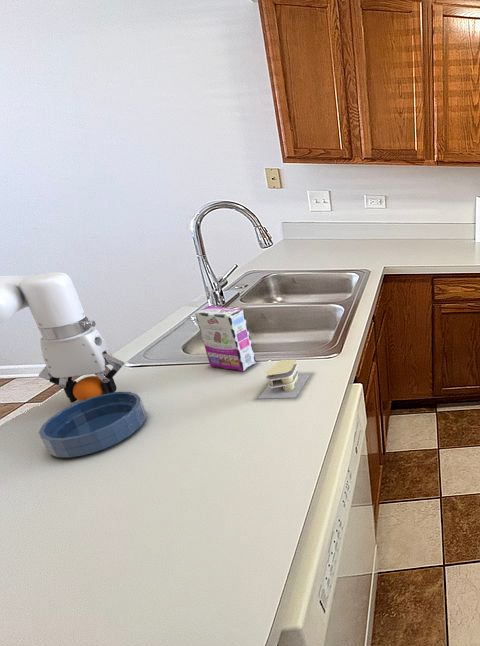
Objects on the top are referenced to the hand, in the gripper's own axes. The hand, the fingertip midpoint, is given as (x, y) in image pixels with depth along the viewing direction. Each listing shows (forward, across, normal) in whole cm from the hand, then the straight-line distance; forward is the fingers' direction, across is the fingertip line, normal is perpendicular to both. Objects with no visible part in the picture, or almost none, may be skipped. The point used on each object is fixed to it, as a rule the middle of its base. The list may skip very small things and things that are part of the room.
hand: (94, 396), depth 94 cm
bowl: (+1, -7, +14) cm, 16 cm away
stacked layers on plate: (+1, -42, +7) cm, 43 cm away
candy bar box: (+1, -27, -8) cm, 29 cm away
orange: (-2, 0, 0) cm, 2 cm away
